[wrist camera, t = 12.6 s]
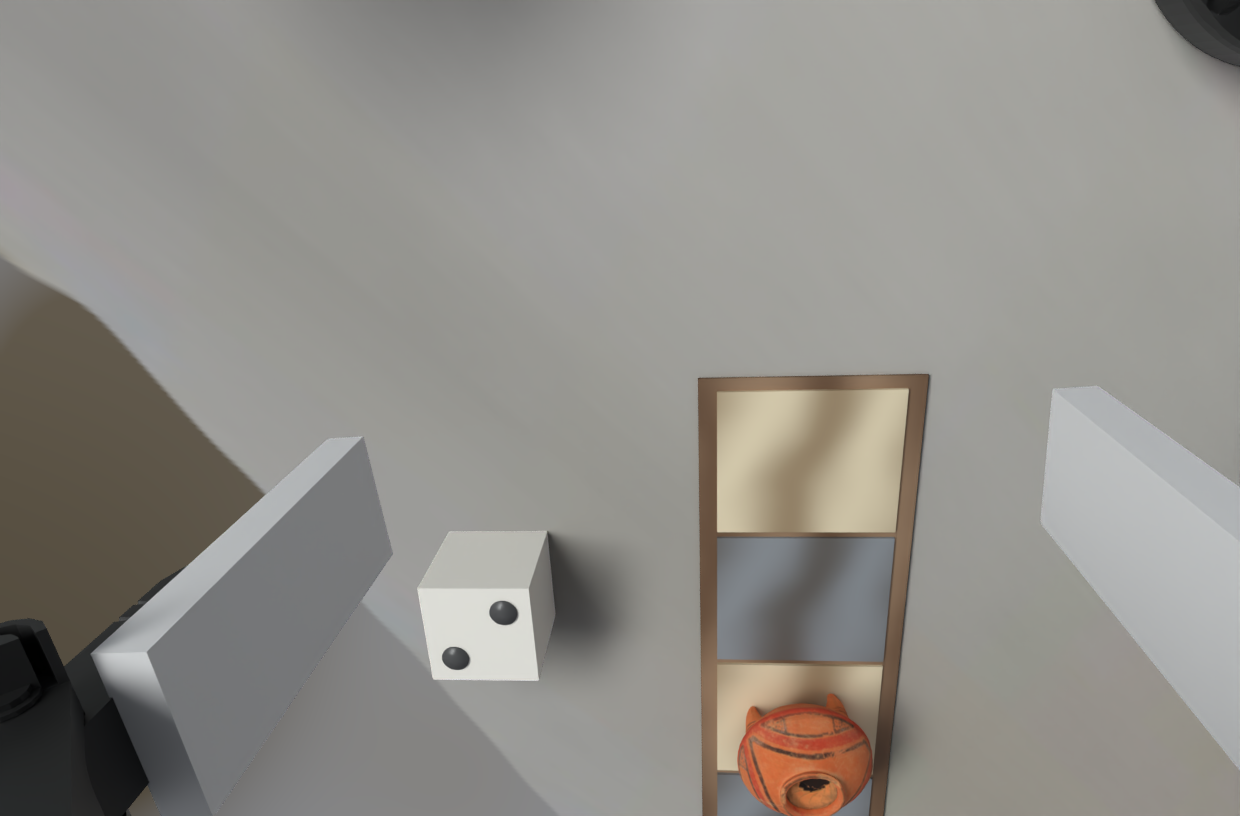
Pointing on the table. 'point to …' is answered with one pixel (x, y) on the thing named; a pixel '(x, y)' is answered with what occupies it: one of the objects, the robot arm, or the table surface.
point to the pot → (804, 758)
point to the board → (803, 559)
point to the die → (488, 605)
